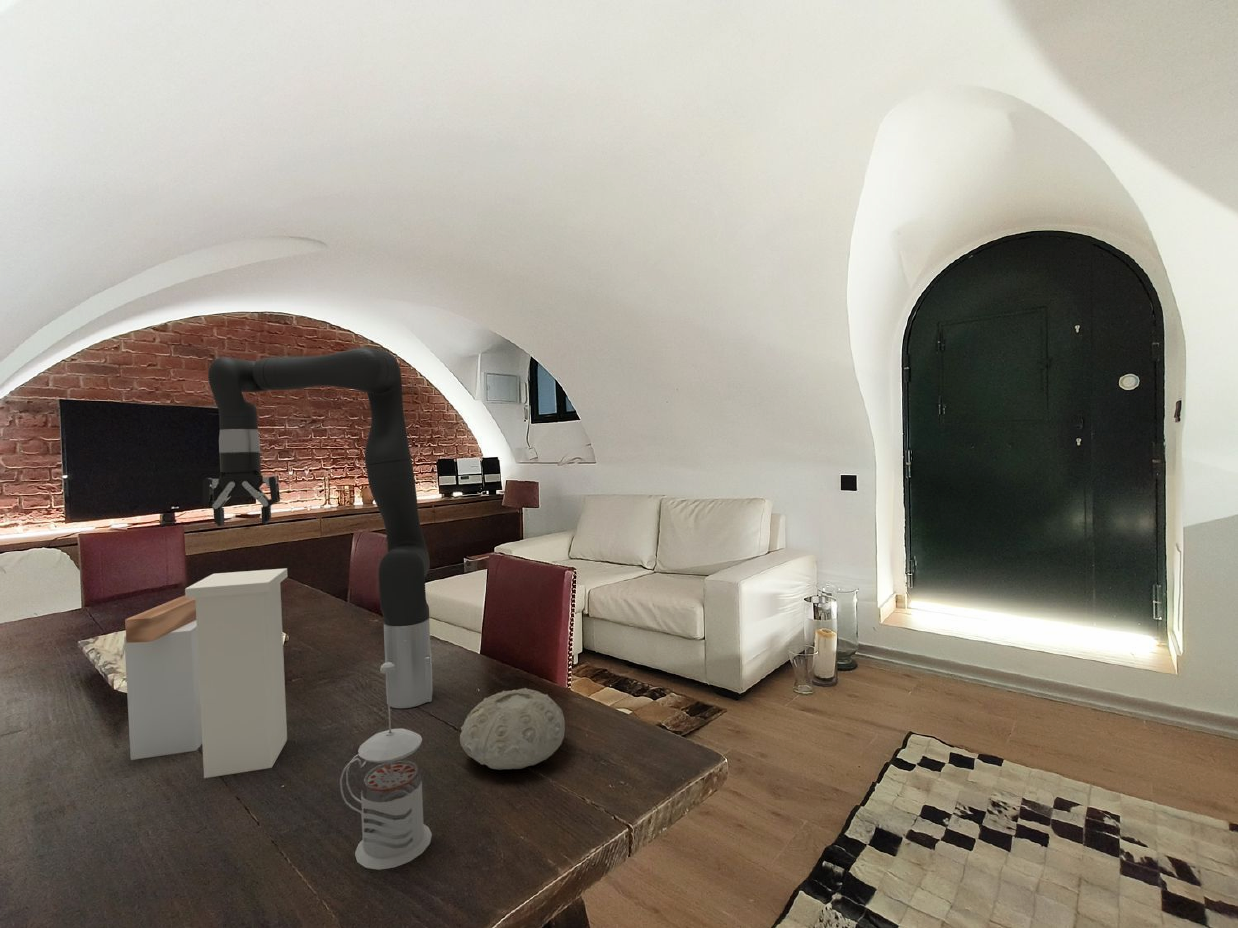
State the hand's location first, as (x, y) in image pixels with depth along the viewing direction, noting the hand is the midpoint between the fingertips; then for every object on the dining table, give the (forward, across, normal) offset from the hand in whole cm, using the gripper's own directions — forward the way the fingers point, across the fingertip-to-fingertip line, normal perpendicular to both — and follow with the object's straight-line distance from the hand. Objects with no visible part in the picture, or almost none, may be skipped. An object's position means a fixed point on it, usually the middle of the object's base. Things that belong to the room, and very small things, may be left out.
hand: (243, 524), depth 129 cm
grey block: (+38, -7, -19) cm, 43 cm away
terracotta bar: (+16, -6, -17) cm, 24 cm away
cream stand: (+38, +8, -30) cm, 49 cm away
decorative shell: (+38, +53, -44) cm, 79 cm away
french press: (+38, +34, -62) cm, 80 cm away
